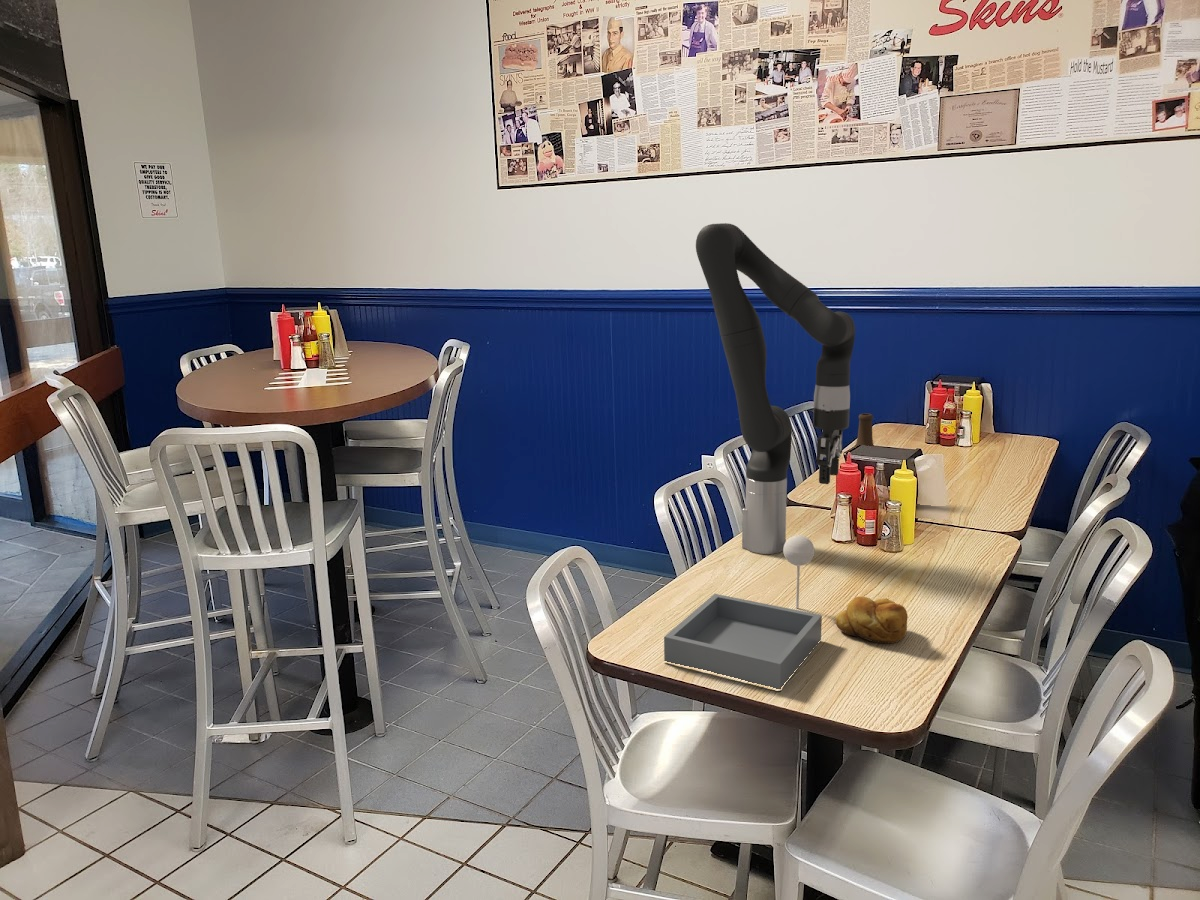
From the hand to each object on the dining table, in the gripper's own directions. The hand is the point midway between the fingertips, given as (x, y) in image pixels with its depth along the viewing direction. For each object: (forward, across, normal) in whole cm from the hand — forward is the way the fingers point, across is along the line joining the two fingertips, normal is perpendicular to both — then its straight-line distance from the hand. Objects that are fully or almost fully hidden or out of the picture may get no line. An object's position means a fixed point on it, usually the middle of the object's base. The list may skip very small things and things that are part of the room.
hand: (828, 479), depth 196 cm
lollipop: (+20, +27, 0) cm, 34 cm away
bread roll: (+21, +32, +16) cm, 42 cm away
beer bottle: (+17, -48, -1) cm, 51 cm away
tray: (+21, +48, -4) cm, 53 cm away
